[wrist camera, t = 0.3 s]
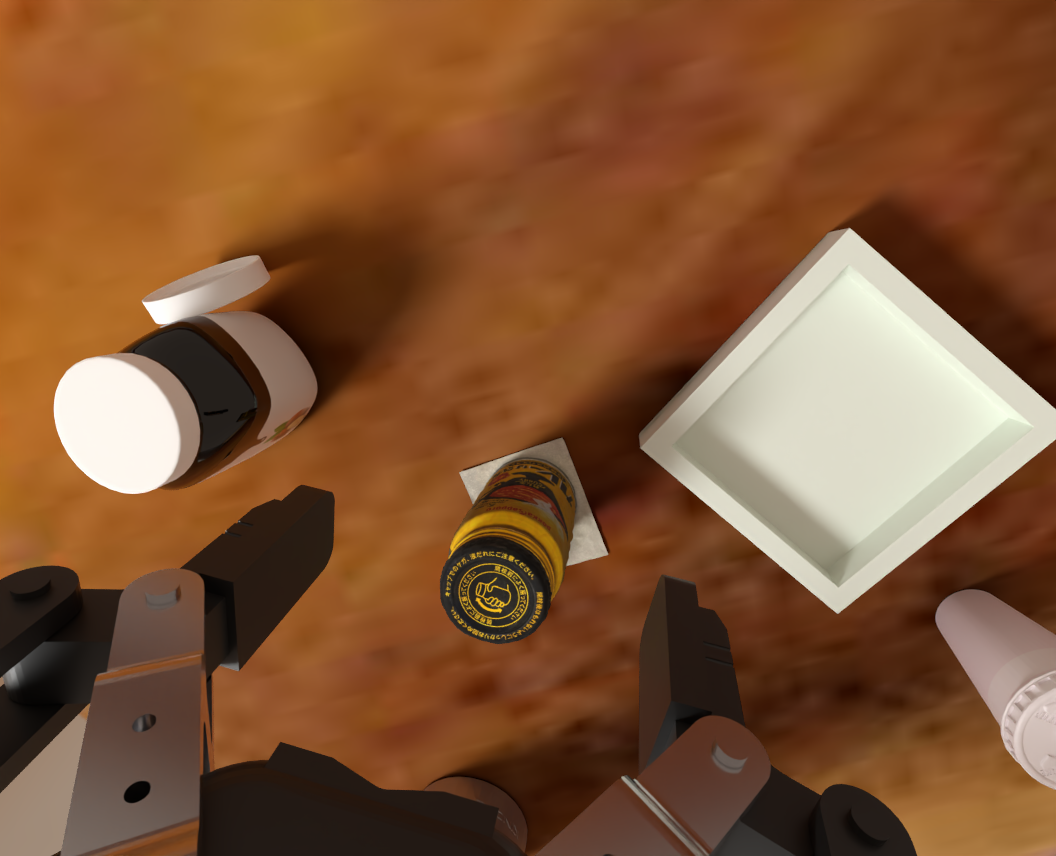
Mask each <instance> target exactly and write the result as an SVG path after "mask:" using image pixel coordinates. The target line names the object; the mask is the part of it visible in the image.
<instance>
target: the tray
mask: <svg viewBox="0 0 1056 856" xmlns="http://www.w3.org/2000/svg"><path fill="white" fill-rule="evenodd" d="M1055 439H1056V409H1055V408H1053V407H1052V406H1051V405H1050V404H1049V403H1048V402H1047V401H1045V400H1044V399H1043V398H1042V397H1041V396H1040V395H1039V394H1038V393H1036V392H1035V391H1034V390H1033V389H1032V388H1031V387H1030V386H1028V385H1027V384H1026V383H1025V382H1024V381H1023V380H1022V379H1020V378H1019V377H1018V376H1017V375H1016V374H1015V373H1014V372H1013V371H1011V370H1010V369H1009V368H1008V367H1007V366H1006V365H1005V364H1003V363H1002V362H1001V361H1000V360H999V359H998V358H997V357H996V356H994V355H993V354H992V353H991V352H990V351H989V350H988V349H986V348H985V347H984V346H983V345H982V344H981V343H980V342H979V341H977V340H976V339H975V338H974V337H973V336H972V335H971V334H969V333H968V332H967V331H966V330H965V329H964V328H963V327H962V326H960V325H959V324H958V323H957V322H956V321H955V320H954V319H952V318H951V317H950V316H949V315H948V314H947V313H946V312H945V311H943V310H942V309H941V308H940V307H939V306H938V305H937V304H935V303H934V302H933V301H932V300H931V299H930V298H929V297H928V296H926V295H925V294H924V293H923V292H922V291H921V290H920V289H918V288H917V287H916V286H915V285H914V284H913V283H912V282H911V281H909V280H908V279H907V278H906V277H905V276H904V275H903V274H901V273H900V272H899V271H898V270H897V269H896V268H895V267H894V266H892V265H891V264H890V263H889V262H888V261H887V260H886V259H884V258H883V257H882V256H881V255H880V254H879V253H878V252H877V251H875V250H874V249H873V248H872V247H871V246H870V245H869V244H867V243H866V242H865V241H864V240H863V239H862V238H861V237H860V236H858V235H857V234H856V233H855V232H854V231H853V230H852V229H850V228H847V229H842V230H837V231H833V232H828V233H827V235H826V236H825V237H824V238H823V239H822V240H821V241H820V242H819V243H818V244H817V245H816V246H815V247H814V248H813V249H812V250H811V252H810V253H809V254H808V255H807V256H806V257H805V258H804V259H803V260H802V261H801V262H800V263H799V264H798V265H797V266H796V267H795V269H794V270H793V271H792V272H791V273H790V274H789V275H788V276H787V277H786V278H785V279H784V280H783V281H782V282H781V283H780V284H779V286H778V287H777V288H776V289H775V290H774V291H773V292H772V293H771V294H770V295H769V296H768V297H767V298H766V299H765V300H764V301H763V303H762V304H761V305H760V306H759V307H758V308H757V309H756V310H755V311H754V312H753V313H752V314H751V315H750V316H749V317H748V318H747V320H746V321H745V322H744V323H743V324H742V325H741V326H740V327H739V328H738V329H737V330H736V331H735V332H734V333H733V334H732V335H731V337H730V338H729V339H728V340H727V341H726V342H725V343H724V344H723V345H722V346H721V347H720V348H719V349H718V350H717V351H716V353H715V354H714V355H713V356H712V357H711V358H710V359H709V360H708V361H707V362H706V363H705V364H704V365H703V366H702V367H701V368H700V370H699V371H698V372H697V373H696V374H695V375H694V376H693V377H692V378H691V379H690V380H689V381H688V382H687V383H686V384H685V385H684V387H683V388H682V389H681V390H680V391H679V392H678V393H677V394H676V395H675V396H674V397H673V398H672V399H671V400H670V401H669V402H668V404H667V405H666V406H665V407H664V408H663V409H662V410H661V411H660V412H659V413H658V414H657V415H656V416H655V417H654V418H653V419H652V421H651V422H650V423H649V424H648V425H647V426H646V427H645V428H644V429H643V430H642V431H641V432H640V433H639V441H640V448H641V449H642V450H643V451H644V452H645V453H647V454H648V455H649V456H650V457H651V458H653V459H654V460H655V461H656V462H657V463H659V464H660V465H661V466H662V467H663V468H664V469H666V470H667V471H668V472H669V473H670V474H672V475H673V476H674V477H675V478H676V479H678V480H679V481H680V482H681V483H682V484H683V485H685V486H686V487H687V488H688V489H689V490H691V491H692V492H693V493H694V494H695V495H697V496H698V497H699V498H700V499H701V500H703V501H704V502H705V503H706V504H707V505H708V506H710V507H711V508H712V509H713V510H714V511H716V512H717V513H718V514H719V515H720V516H722V517H723V518H724V519H725V520H726V521H728V522H729V523H730V524H731V525H732V526H733V527H735V528H736V529H737V530H738V531H739V532H741V533H742V534H743V535H744V536H745V537H747V538H748V539H749V540H750V541H751V542H753V543H754V544H755V545H756V546H757V547H758V548H760V549H761V550H762V551H763V552H764V553H766V554H767V555H768V556H769V557H770V558H772V559H773V560H774V561H775V562H776V563H777V564H779V565H780V566H781V567H782V568H783V569H785V570H786V571H787V572H788V573H789V574H791V575H792V576H793V577H794V578H795V579H797V580H798V581H799V582H800V583H801V584H802V585H804V586H805V587H806V588H807V589H808V590H810V591H811V592H812V593H813V594H814V595H816V596H817V597H818V598H819V599H820V600H822V601H823V602H824V603H825V604H826V605H827V606H829V607H830V608H831V609H832V610H833V611H835V612H836V613H837V614H838V613H840V612H841V611H842V610H843V609H845V608H846V607H847V606H848V605H849V604H851V603H852V602H853V601H854V600H856V599H857V598H858V597H859V596H861V595H862V594H863V593H864V592H866V591H867V590H868V589H869V588H871V587H872V586H873V585H874V584H876V583H877V582H878V581H879V580H881V579H882V578H883V577H884V576H886V575H887V574H888V573H889V572H891V571H892V570H893V569H894V568H896V567H897V566H898V565H899V564H901V563H902V562H903V561H904V560H906V559H907V558H908V557H909V556H911V555H912V554H913V553H914V552H916V551H917V550H918V549H919V548H921V547H922V546H923V545H924V544H926V543H927V542H928V541H929V540H931V539H932V538H933V537H934V536H936V535H937V534H938V533H939V532H941V531H942V530H943V529H944V528H946V527H947V526H948V525H949V524H951V523H952V522H953V521H954V520H956V519H957V518H958V517H959V516H961V515H962V514H963V513H964V512H966V511H967V510H968V509H969V508H971V507H972V506H973V505H974V504H975V503H977V502H978V501H979V500H980V499H982V498H983V497H984V496H985V495H987V494H988V493H989V492H990V491H992V490H993V489H994V488H995V487H997V486H998V485H999V484H1000V483H1002V482H1003V481H1004V480H1005V479H1007V478H1008V477H1009V476H1010V475H1012V474H1013V473H1014V472H1015V471H1017V470H1018V469H1019V468H1020V467H1022V466H1023V465H1024V464H1025V463H1027V462H1028V461H1029V460H1030V459H1032V458H1033V457H1034V456H1035V455H1037V454H1038V453H1039V452H1040V451H1042V450H1043V449H1044V448H1045V447H1047V446H1048V445H1049V444H1050V443H1052V442H1053V441H1054V440H1055Z"/></svg>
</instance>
